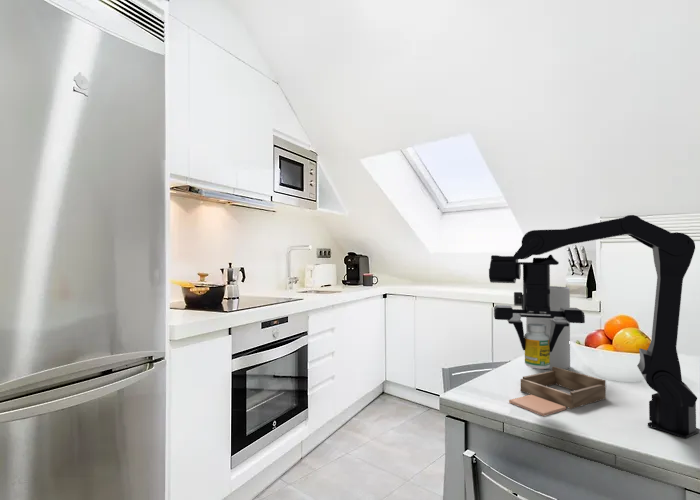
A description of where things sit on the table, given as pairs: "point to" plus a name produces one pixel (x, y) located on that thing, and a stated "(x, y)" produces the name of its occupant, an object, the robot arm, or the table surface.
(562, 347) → the cylinder vase
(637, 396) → the table surface
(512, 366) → the table surface
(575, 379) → the brown wooden tray
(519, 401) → the terracotta tile
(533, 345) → the supplement bottle
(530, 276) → the robot arm
